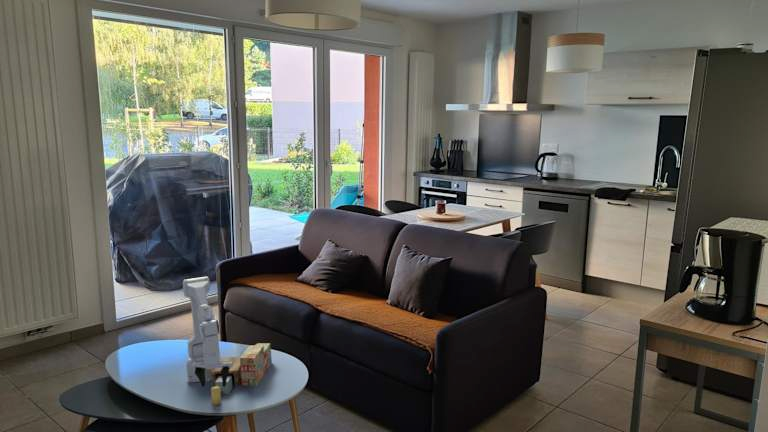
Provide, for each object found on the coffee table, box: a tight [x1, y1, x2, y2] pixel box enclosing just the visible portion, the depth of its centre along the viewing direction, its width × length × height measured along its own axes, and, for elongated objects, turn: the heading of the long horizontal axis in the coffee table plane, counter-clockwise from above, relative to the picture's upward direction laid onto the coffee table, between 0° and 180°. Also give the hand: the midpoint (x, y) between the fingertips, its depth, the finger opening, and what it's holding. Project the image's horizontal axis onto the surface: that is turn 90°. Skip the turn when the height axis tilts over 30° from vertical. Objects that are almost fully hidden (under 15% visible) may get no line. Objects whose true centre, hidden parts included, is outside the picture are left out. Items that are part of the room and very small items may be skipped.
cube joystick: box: [210, 375, 233, 406], centre depth 208 cm, size 5×14×6 cm, turn 179°
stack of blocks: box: [239, 342, 273, 387], centre depth 226 cm, size 21×6×12 cm, turn 175°
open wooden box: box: [210, 356, 241, 387], centre depth 221 cm, size 11×13×7 cm
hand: (214, 385), depth 201 cm, fingers open, 7 cm apart
